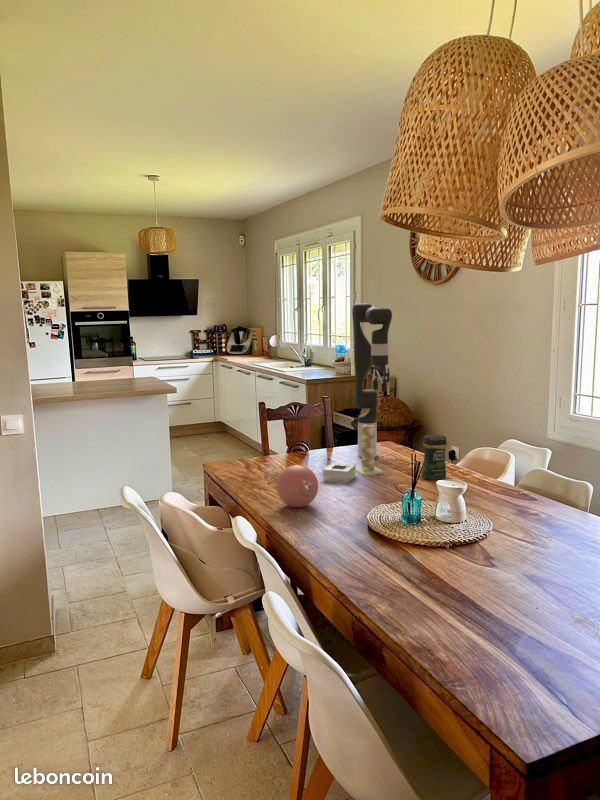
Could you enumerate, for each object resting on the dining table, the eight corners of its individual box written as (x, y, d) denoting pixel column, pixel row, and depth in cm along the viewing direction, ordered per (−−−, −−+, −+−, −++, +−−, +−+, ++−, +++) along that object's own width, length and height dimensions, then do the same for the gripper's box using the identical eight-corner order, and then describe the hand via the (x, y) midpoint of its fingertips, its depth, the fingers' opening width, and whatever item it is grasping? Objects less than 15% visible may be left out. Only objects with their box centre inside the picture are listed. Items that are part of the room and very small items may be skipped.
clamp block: (323, 480, 241) (322, 469, 240) (331, 474, 251) (331, 463, 250) (347, 483, 237) (347, 471, 236) (355, 476, 247) (355, 465, 246)
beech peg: (362, 470, 252) (361, 426, 249) (364, 468, 256) (364, 424, 253) (371, 471, 250) (371, 426, 247) (374, 468, 254) (374, 425, 252)
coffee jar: (427, 481, 238) (428, 437, 235) (419, 476, 245) (420, 434, 243) (449, 479, 239) (449, 436, 237) (440, 474, 247) (441, 432, 244)
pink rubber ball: (285, 519, 195) (284, 476, 193) (272, 501, 215) (271, 462, 212) (327, 514, 199) (327, 472, 197) (311, 497, 218) (311, 459, 216)
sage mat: (353, 470, 257) (353, 468, 256) (373, 468, 260) (373, 465, 259) (362, 475, 247) (362, 473, 247) (383, 473, 250) (383, 471, 250)
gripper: (395, 354, 243) (394, 392, 245) (380, 352, 256) (380, 388, 259) (379, 355, 241) (379, 393, 243) (365, 353, 254) (365, 389, 257)
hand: (379, 390), depth 251 cm, fingers open, 8 cm apart
